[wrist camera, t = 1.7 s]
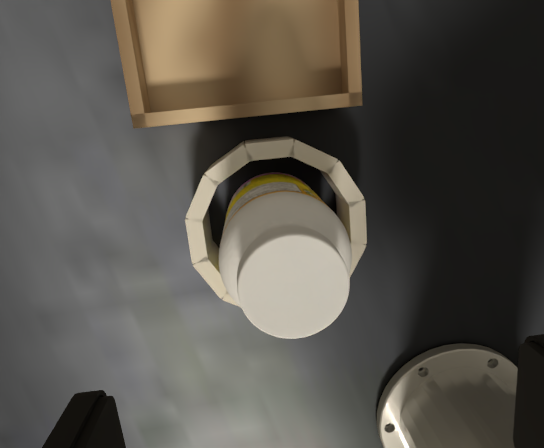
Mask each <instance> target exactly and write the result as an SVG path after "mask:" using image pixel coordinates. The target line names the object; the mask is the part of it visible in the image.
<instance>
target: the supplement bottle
mask: <svg viewBox="0 0 544 448" xmlns="http://www.w3.org/2000/svg"><path fill="white" fill-rule="evenodd" d="M351 263H352V249H351V243H350V239H349V236H348V234H347V231H346V229H345V227H344V225H343V224H342V222H341V220H340V219H339V218H338V217H337V215H336V214H335V213H334V212H333V211H332V210H331V209H330V208H329V207H328V206H327V205H326V204H325V203H324V202H323V201H322V200H321V198H320V197H319V196H318V195H317V194H316V193H315V192H314V191H313V190H312V189H311V188H310V187H309V186H308V185H307V184H305V183H304V182H303V181H301V180H300V179H298V178H296V177H294V176H292V175H289V174H285V173H278V172H272V173H265V174H261V175H258V176H255V177H253V178H251V179H249V180H248V181H246V182H245V183H244V184H243V185H242V186H241V187H240V188H239V189H238V190H237V191H236V192H235V194H234V195H233V197H232V199H231V201H230V204H229V206H228V210H227V214H226V219H225V224H224V229H223V234H222V238H221V242H220V248H219V270H220V275H221V278H222V281H223V284H224V286H225V288H226V290H227V291H228V293H229V295H230V296H231V297H232V299H233V300H234V301H235V302H236V303H237V304H238V305H239V306H240V307H241V308H242V310H243V312H244V313H245V315H246V316H247V318H248V319H249V320H250V321H251V322H252V323H253V324H254V325H255V326H256V327H257V328H259V329H260V330H262V331H264V332H265V333H267V334H270V335H272V336H276V337H280V338H288V339H294V338H303V337H307V336H310V335H313V334H315V333H317V332H319V331H321V330H323V329H324V328H326V327H327V326H329V325H330V324H331V323H332V322H333V321H334V320H335V319H336V318H337V317H338V316H339V314H340V313H341V311H342V310H343V308H344V306H345V304H346V301H347V298H348V294H349V287H350V280H349V274H350V270H351Z"/></svg>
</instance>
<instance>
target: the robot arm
mask: <svg viewBox="0 0 544 448" xmlns="http://www.w3.org/2000/svg"><path fill="white" fill-rule="evenodd" d="M377 429H378V433H379V437H380V439H381V442H382V444H383V447H384V448H544V334H542V335H534V336H529V337H527V338H526V340H525V343H523V344H521V345H520V348H519V357H518V368H517V367H516V366H515V365H514V364H513V363H512V362H511V361H510V360H509V359H507V358H506V357H505V356H503V355H502V354H501V353H499V352H497V351H495V350H493V349H491V348H489V347H485V346H481V345H477V344H465V343H458V344H450V345H444V346H441V347H437V348H434V349H430V350H428V351H426V352H424V353H422V354H420V355H418V356H416V357H415V358H413V359H412V360H411V361H409V362H408V363H406V364H405V365H404V366H403V367H402V368H401V369H400V370H399V371H398V372H397V373H396V374H395V375H394V376H393V377H392V378H391V380H390V381H389V383H388V384H387V386H386V387H385V389H384V391H383V393H382V396H381V398H380V401H379V405H378V409H377ZM42 448H126V446H125V442H124V438H123V433H122V429H121V425H120V420H119V416H118V412H117V407H116V403H115V400H114V398H113V396H106V393H105V392H104V391H103V390H98V391H90V392H82V393H77V394H75V395H74V396H73V397H72V399H71V400H70V402H69V404H68V405H67V407H66V409H65V410H64V412H63V414H62V415H61V417H60V419H59V420H58V422H57V424H56V425H55V427H54V429H53V430H52V432H51V434H50V435H49V437H48V439H47V440H46V442H45V444H44V445H43V447H42Z"/></svg>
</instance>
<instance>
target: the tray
mask: <svg viewBox="0 0 544 448" xmlns="http://www.w3.org/2000/svg"><path fill="white" fill-rule="evenodd" d="M111 5H112V11H113V16H114V22H115V28H116V33H117V39H118V44H119V50H120V56H121V61H122V67H123V72H124V78H125V84H126V89H127V95H128V100H129V106H130V112H131V117H132V123H133V128H143V127H153V126H163V125H173V124H183V123H193V122H203V121H213V120H223V119H233V118H242V117H252V116H262V115H272V114H282V113H292V112H302V111H312V110H322V109H332V108H342V107H352V106H361V105H362V83H361V58H360V33H359V8H358V0H111Z"/></svg>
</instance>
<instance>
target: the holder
mask: <svg viewBox="0 0 544 448" xmlns="http://www.w3.org/2000/svg"><path fill="white" fill-rule="evenodd" d="M283 157H293V158H295V159H298V160H300V161H302V162H304V163H306V164H308V165H311V166H313V167H315V168H317V169H319V170H320V172H321V173H322V174H323V176H324V177H325V179H326V180H327V182H328V183H329V185H330V186H331V188H332V189H333V191H334V192H335V193H336V210H337V217H338V218H339V219H340V220H341V222H342V224H343V225H344V227H345V229H346V231H347V234H348V236H349V239H350V243H351V249H352V263H351V270H350V274H349V278H350V276H351V275H352V273H353V271H354V269H355V267H356V265H357V263H358V261H359V259H360V257H361V255H362V254H363V252H364V250H365V248H366V245H365V244H367V232H366V207H365V200H364V197H363V195H362V194H361V192H360V191H359V189H358V188H357V186H356V185H355V183H354V182H353V180H352V178H351V177H350V175H349V174H348V172H347V171H346V169H345V168H344V166H343V165H342V163H341V162H340V161H339V160H338V159H336V158H334V157H332V156H330V155H328V154H326V153H323V152H321V151H319V150H317V149H315V148H313V147H311V146H308V145H306V144H304V143H302V142H300V141H298V140H296V139H293V138H291V137H287V136H283V137H273V138H263V139H254V140H245V143H244V141H243V142H242V143H240V144H239V145H237V146H236V147H235V148H233V149H232V150H231V151H229V152H228V153H227V154H225V155H224V156H223V157H221V158H220V159H219V160H217V161H216V162H214V163H213V164H212V165H210V167H209V168H208V169H207V171H206V172H205V173H204V175H203V177H202V179H201V181H200V184H199V186H198V189H197V191H196V193H195V196H194V198H193V201H192V203H191V205H190V208H189V210H188V213H187V215H186V217H185V218H186V219H185V222H186V228H187V235H188V241H189V247H190V254H191V260H192V263H194V264H193V266H194V267H195V269H196V270H197V271H198V272H199V273H200V275H201V276H202V277H203V278H204V279H205V281H206V282H207V283H208V284H209V285H210V287H211V288H212V289H213V290H214V291H215V293H216V294H217V295H218V296H219V298H220V299H221V298H222V297H223V298H222V300H224V301H226V302H229V303H231V304H234V305H237V306H239V305H238V304H237V303H236V302H235V301H234V300H233V299H232V297H231V296H230V295H229V293H228V291H227V290H226V288H225V286H224V284H223V281H222V278H221V275H220V270H219V247H218V246H217V245H216V244H215V242H214V241H213V238H212V231H211V224H210V217H209V210H208V206H209V204H210V202H211V199H212V197H213V195H214V192H215V190H216V188H217V185H218V184H220V183H221V182H222V181H224V180H225V179H226V178H228V177H229V176H231V175H232V174H233V173H235V172H236V171H237V170H239V169H240V168H241V167H243V166H244V165H246V164H247V163H248V162H250V161H254V160H264V159H273V158H283ZM239 307H240V306H239Z"/></svg>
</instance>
